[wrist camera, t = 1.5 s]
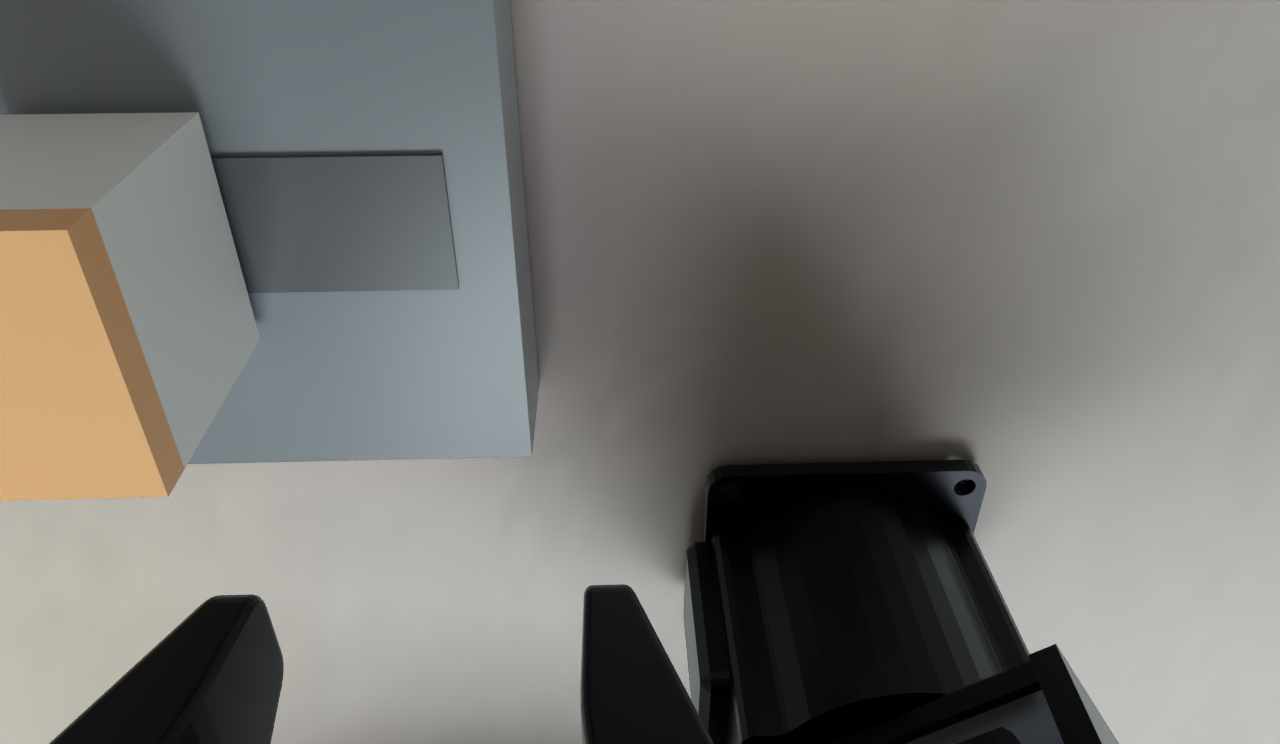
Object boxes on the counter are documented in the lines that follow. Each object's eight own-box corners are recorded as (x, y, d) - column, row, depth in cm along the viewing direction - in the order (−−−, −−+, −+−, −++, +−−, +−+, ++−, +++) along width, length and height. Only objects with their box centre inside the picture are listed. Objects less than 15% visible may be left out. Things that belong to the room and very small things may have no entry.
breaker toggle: (198, 111, 14) (66, 230, 10) (260, 338, 16) (168, 496, 13) (-5, 115, 14) (-206, 234, 10) (85, 342, 16) (-55, 501, 13)
